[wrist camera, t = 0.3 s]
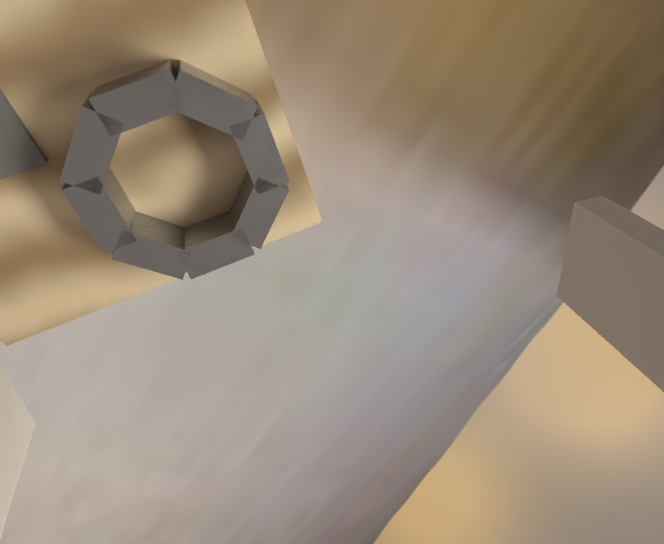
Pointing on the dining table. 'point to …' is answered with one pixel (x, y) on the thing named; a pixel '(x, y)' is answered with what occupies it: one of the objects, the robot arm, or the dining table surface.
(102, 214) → the grey octagonal ring
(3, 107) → the pad
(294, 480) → the dining table surface
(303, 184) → the board
